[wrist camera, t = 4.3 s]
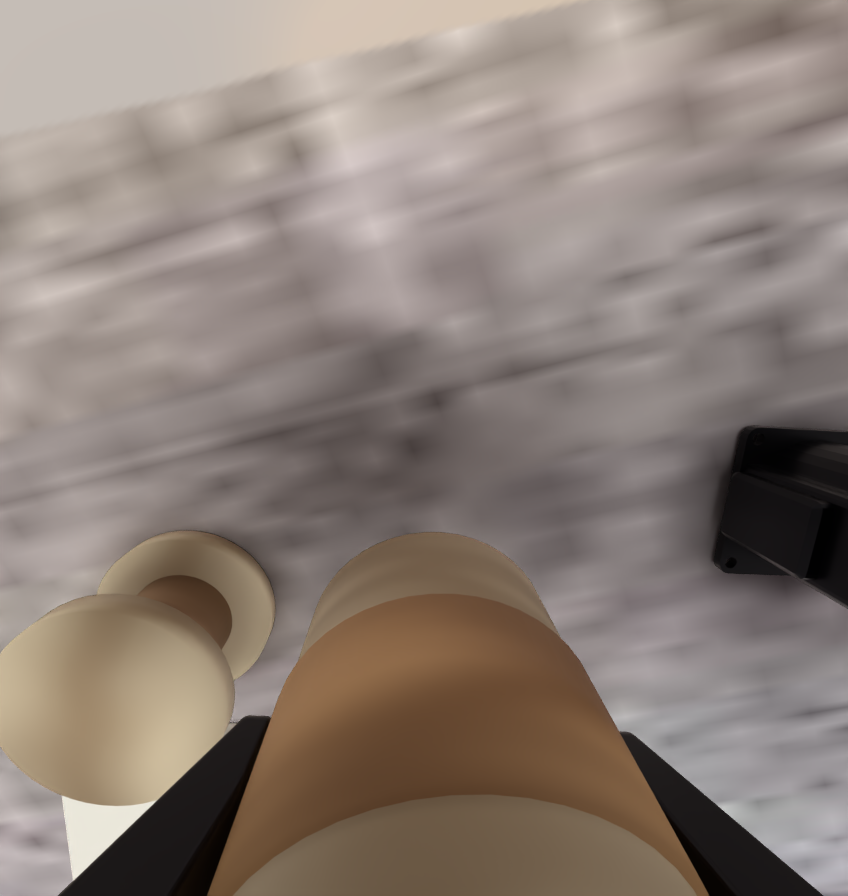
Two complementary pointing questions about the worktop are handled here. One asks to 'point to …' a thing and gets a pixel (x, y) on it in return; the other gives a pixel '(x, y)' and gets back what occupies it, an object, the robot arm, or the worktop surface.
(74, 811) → the notched board
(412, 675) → the copper spool
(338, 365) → the worktop surface
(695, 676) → the worktop surface
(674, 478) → the worktop surface
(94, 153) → the worktop surface
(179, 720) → the bobbin
